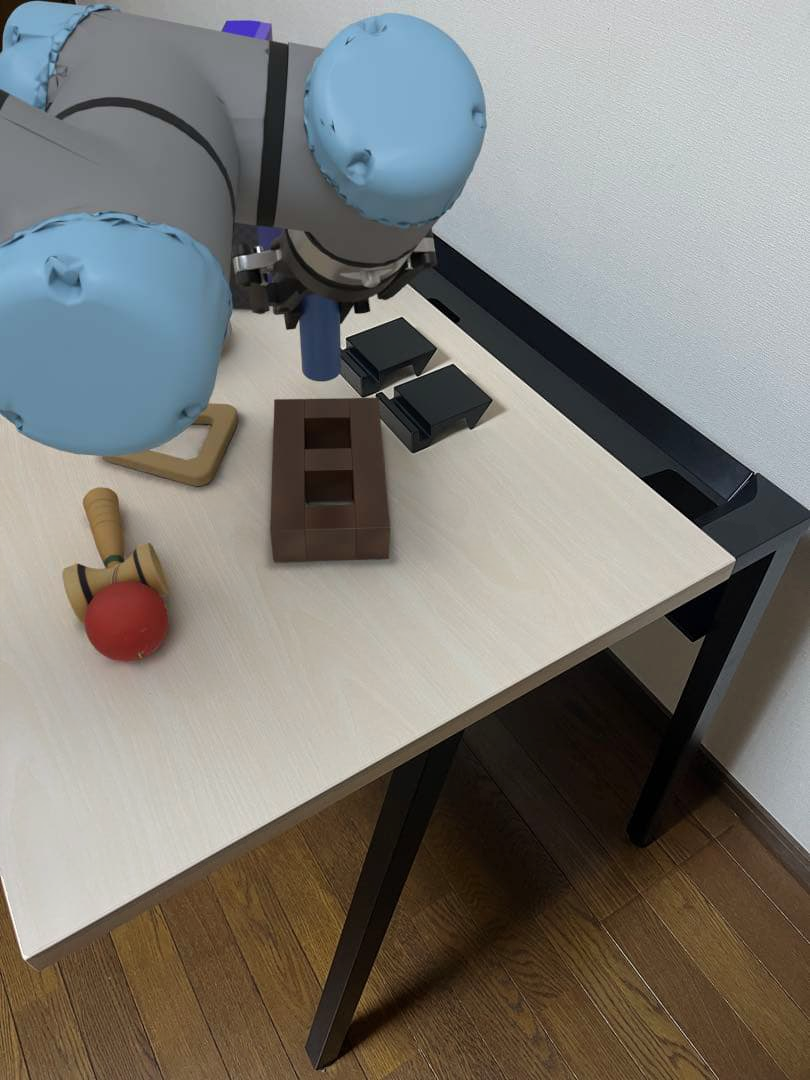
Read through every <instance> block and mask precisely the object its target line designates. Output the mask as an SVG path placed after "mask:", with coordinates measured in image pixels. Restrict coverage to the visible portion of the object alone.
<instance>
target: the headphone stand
mask: <svg viewBox="0 0 810 1080" xmlns="http://www.w3.org/2000/svg"><path fill="white" fill-rule="evenodd" d="M238 423H239V416H238V411H237V409H236V408H235V406H233V405H231V404H228V403H210V402H209V403H208V405H207V408H206V410H204V411H203V412H201V413H200V415H199V416H198V417H197V418H196V419H195V421H194V422H193V423H192V424H191V425H209V426H210V425H211V427H210V429H209V431H208V433H207V435H206V438H205V440H204V442H203V444H202V447H201V449H200V450H199V452H198V454H197V456H195V457H194V458H191V459H184V458H179V457H176V456H172V455H168V454H165V453H161V452H158V451H154V450H152V449H150V450H147V451H143V452H139V453H136V454H130V455H123V456H107V457H105V456H102V459H103V460H104V461H106V462H108V463H111V464H114V465H118V466H122V467H125V468H129V469H131V470H136V471H139V472H143V473H147V474H150V475H154V476H158V477H161V478H164V479H168V480H171V481H176V482H179V483H183V484H186V485H190V486H194V487H202V486H205V485H207V484H209V483H210V482H212V481H213V478H214V477H215V474H216V472H217V470H218V468H219V466H220V464H221V461H222V459H223V456H224V454H225V452H226V450H227V447H228V446H229V443H230V441H231V438H232V436H233V434H234V432H235V430H236V427H237V425H238Z"/></svg>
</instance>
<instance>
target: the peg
mask: <svg viewBox="0 0 810 1080" xmlns="http://www.w3.org/2000/svg"><path fill="white" fill-rule="evenodd" d="M301 308H302V314H301V316H300V318H299V321H298V324H299V342H300V359H301V371H302V372H301V373H302V374H303V376H304V377H306V378H307V379H309V380H311V381H313V382H323V383H324V382H329V381H332V380H334V379H336V378H337V377H338V376H340V374H341V371H342V354H341V352H342V350H341V349H342V348H341V342H342V341H341V324H340V302H338V301H333V300H329V299H326V298H323V297H321V296H319V295H317V294H316V295H308V296H307V297H306V298H304V299H303V300H302V301H301Z"/></svg>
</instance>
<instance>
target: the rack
mask: <svg viewBox="0 0 810 1080" xmlns="http://www.w3.org/2000/svg"><path fill="white" fill-rule="evenodd" d="M379 399H380V398H379V397H341V398H340V397H337V398H335V397H334V398H333V397H332V398H275V399H274V400H273V427H272V429H273V431H272V432H273V433H272V459H271V460H272V461H271V462H272V463H271V466H272V467H271V492H270V493H271V495H270V519H269V521H270V525H269V533H270V543H271V550H272V551H271V552H272V553H271V554H272V560H273V563H295V562H296V563H299V562H301V563H302V562H303V563H304V562H329V561H333V562H334V561H355V560H356V561H363V560H364V561H365V560H389V559H390V543H391V542H390V539H391V521H390V511H389V509H390V508H389V499H388V488H387V477H386V467H385V465H386V464H385V456H384V445H383V444H384V443H383V434H382V424H381V423H382V422H381V413H380V412H381V411H380V401H379ZM330 502H331V503H333V502H352V504H350V503H349V504H318V505H317V504H316V505H314V504H313V505H307V503H330Z"/></svg>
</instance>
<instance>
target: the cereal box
mask: <svg viewBox="0 0 810 1080" xmlns="http://www.w3.org/2000/svg"><path fill="white" fill-rule="evenodd" d="M221 31H222V32H227V33H232V34H237V35H242V36H247V37H252V38H258V39H263V40H268V41H274V40H273V39H274V38H273V24H272V23H270V22H264V21H259V20H250V19H247V20H246V19H245V20H243V19H242V20H241V19H240V20H239V19H237V20H226V21H225V23H224V25H223V27H222V29H221ZM280 235H281V228H277V227H272V228H271V227H263V226H255V225H248V224H240V223H234V233H233V238H232V246H233V245H235V244H237V243H246V244H250V245H251V246H253V247H256V246H262V247H263V250H264V251H268V250H270V245H271V243H272V241H273V240H274V239H275V238H277V237H278V236H280ZM267 276H268V282H269V283H273V282H272V275H271V273H270V274H268V275H267ZM229 287H230V291H231V294H232V298H231V299H232V304H233V310H234V309H236V310H250V311H251V310H252V305H251V301H250V297H249V293H248V291H247V290H245V289H242V288H240V287H238V286H237V283H236V277H235V270H234V264H233V258H232V251H231V266H230V284H229ZM252 311H253V310H252Z"/></svg>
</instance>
